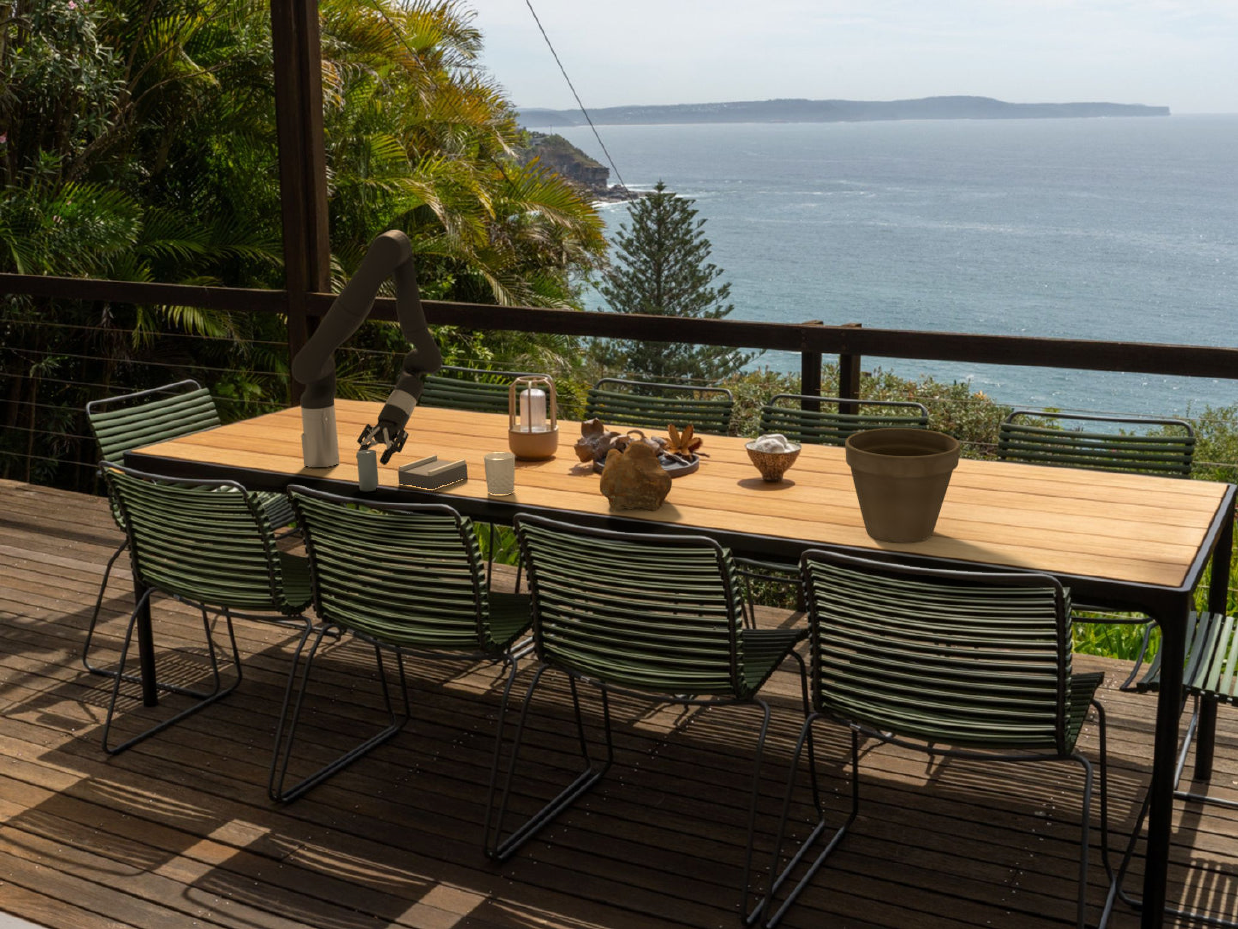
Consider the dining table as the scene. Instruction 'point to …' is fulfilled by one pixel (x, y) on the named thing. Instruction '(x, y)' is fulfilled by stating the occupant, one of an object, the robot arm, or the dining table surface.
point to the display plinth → (432, 472)
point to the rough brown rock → (634, 478)
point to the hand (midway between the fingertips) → (370, 461)
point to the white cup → (500, 472)
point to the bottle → (367, 470)
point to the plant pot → (901, 480)
